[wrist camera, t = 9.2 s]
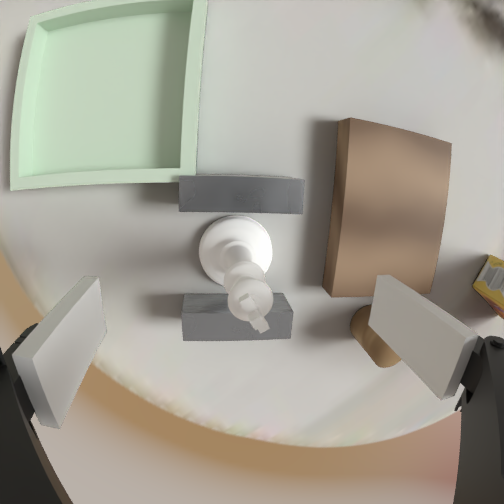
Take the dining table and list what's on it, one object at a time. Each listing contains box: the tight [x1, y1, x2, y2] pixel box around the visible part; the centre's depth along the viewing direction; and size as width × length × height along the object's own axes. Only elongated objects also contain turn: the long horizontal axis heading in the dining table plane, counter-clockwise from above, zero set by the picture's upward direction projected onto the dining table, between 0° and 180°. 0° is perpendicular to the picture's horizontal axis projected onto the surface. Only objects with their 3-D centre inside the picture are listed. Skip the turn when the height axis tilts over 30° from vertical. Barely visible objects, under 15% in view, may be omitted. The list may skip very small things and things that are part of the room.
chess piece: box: [199, 215, 273, 334], centre depth 16 cm, size 5×5×10 cm
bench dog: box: [350, 305, 402, 368], centre depth 22 cm, size 3×3×4 cm
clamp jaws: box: [179, 174, 305, 341], centre depth 20 cm, size 10×7×3 cm
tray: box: [10, 0, 208, 191], centre depth 16 cm, size 13×13×2 cm
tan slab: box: [322, 118, 452, 297], centre depth 21 cm, size 12×9×2 cm
